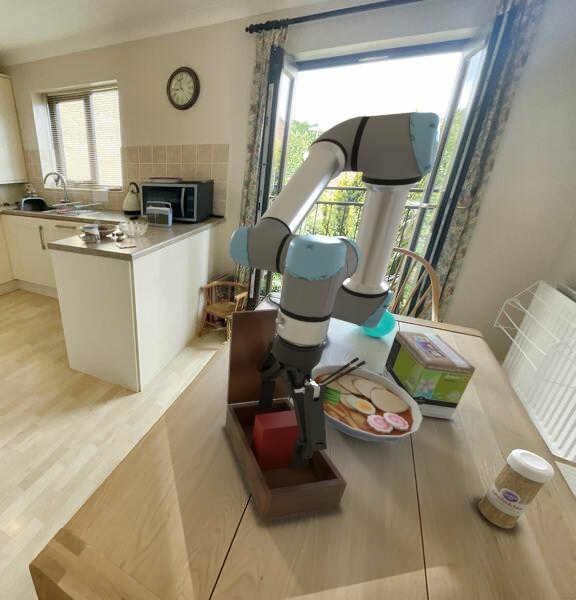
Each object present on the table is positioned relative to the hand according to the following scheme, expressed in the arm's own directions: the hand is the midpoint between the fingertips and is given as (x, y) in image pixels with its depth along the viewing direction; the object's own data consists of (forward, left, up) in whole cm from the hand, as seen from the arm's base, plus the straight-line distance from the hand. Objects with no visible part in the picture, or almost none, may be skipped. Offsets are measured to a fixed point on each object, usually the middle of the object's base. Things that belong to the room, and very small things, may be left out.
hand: (279, 434), depth 58 cm
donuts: (-44, +57, -9) cm, 73 cm away
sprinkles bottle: (+15, +33, -9) cm, 37 cm away
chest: (0, 0, -8) cm, 8 cm away
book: (0, 0, -7) cm, 7 cm away
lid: (-11, 0, +10) cm, 14 cm away
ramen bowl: (-8, +23, -9) cm, 26 cm away
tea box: (-13, +44, -9) cm, 47 cm away
